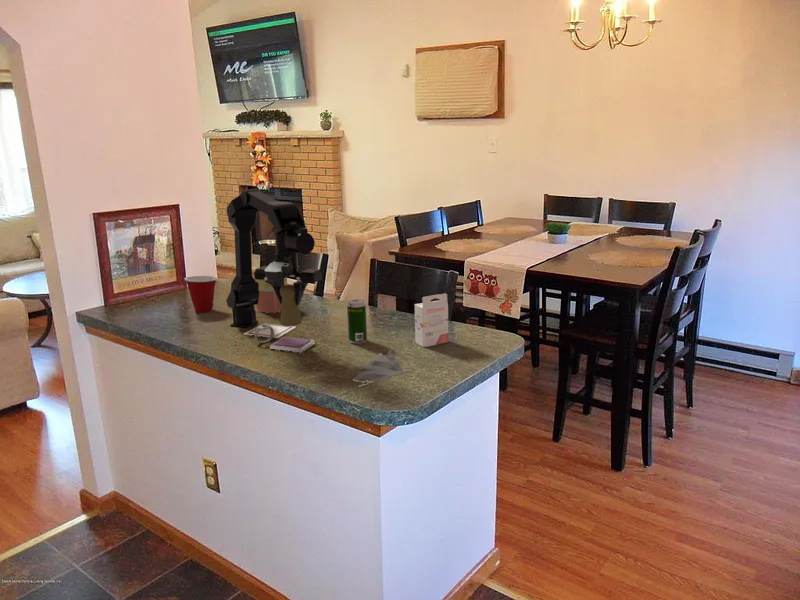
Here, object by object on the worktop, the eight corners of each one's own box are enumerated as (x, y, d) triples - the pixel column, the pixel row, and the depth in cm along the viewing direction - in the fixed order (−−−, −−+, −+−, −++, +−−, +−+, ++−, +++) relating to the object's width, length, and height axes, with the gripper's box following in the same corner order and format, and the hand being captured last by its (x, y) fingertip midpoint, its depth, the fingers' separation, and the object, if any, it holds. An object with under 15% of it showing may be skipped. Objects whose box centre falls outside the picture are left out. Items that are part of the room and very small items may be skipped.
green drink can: (369, 342, 182) (368, 302, 179) (352, 345, 179) (351, 304, 176) (362, 337, 186) (361, 298, 183) (345, 340, 184) (344, 300, 181)
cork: (297, 326, 174) (294, 288, 171) (276, 325, 175) (274, 287, 172) (304, 320, 180) (302, 283, 177) (285, 319, 181) (282, 282, 178)
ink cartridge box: (439, 338, 184) (439, 289, 181) (448, 342, 180) (448, 293, 176) (414, 342, 181) (413, 293, 177) (422, 347, 176) (422, 297, 173)
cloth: (376, 395, 147) (375, 386, 146) (328, 384, 153) (327, 376, 153) (426, 360, 169) (426, 352, 168) (382, 352, 175) (381, 344, 175)
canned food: (273, 302, 227) (271, 270, 224) (295, 307, 220) (293, 274, 217) (249, 310, 218) (246, 276, 215) (272, 314, 211) (269, 280, 208)
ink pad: (270, 349, 177) (269, 344, 177) (284, 340, 185) (284, 335, 184) (301, 352, 174) (301, 347, 174) (314, 343, 181) (314, 339, 181)
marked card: (243, 334, 191) (243, 333, 191) (263, 324, 201) (263, 323, 201) (278, 338, 187) (278, 337, 187) (296, 327, 197) (296, 326, 197)
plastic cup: (227, 308, 220) (223, 275, 217) (202, 316, 211) (199, 281, 208) (205, 304, 226) (202, 272, 222) (181, 312, 217) (177, 278, 214)
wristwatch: (258, 346, 180) (257, 329, 179) (253, 344, 182) (251, 327, 181) (276, 340, 185) (275, 324, 183) (270, 339, 186) (269, 322, 185)
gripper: (240, 253, 168) (245, 309, 172) (302, 256, 162) (305, 314, 166) (263, 246, 178) (266, 299, 182) (321, 249, 172) (324, 304, 176)
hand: (289, 304), depth 176 cm, fingers closed on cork, 5 cm apart
